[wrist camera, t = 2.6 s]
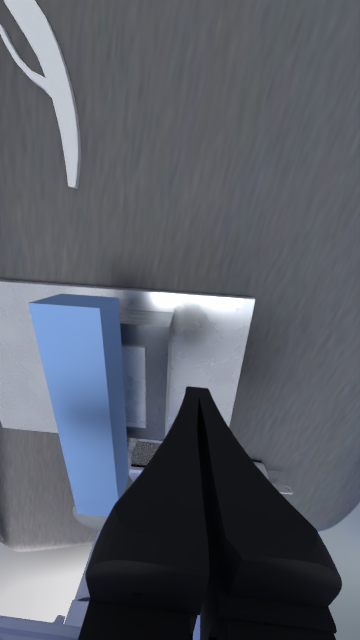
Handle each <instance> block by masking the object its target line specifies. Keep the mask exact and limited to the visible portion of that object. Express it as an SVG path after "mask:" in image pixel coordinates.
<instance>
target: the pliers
mask: <svg viewBox="0 0 360 640" xmlns="http://www.w3.org/2000/svg"><path fill="white" fill-rule="evenodd" d="M4 2H5V4H6V5H7V7H8V8H9V10H10V12H11V13H12V15H13V16H14V18H15V20H16V21H17V23H18V25H19V26H20V28H21V29H22V31H23V33H24V34H25V36H26V38H27V39H28V41H29V43H30V44H31V46H32V48H33V50H34V51H35V53H36V55H37V57H38V59H39V61H40V64H41V67H42V69H43V72H44V74H45V77H46V78H45V77H43V76H41V75H39V74H37V73H35V72H33V71H31V70H30V69H29V68H28V67H27V66H26V65H25V63H24V62H23V61H22V59H21V58H20V56H19V54H18V53H17V51H16V49H15V48H14V46H13V44H12V42H11V40H10V38H9V36H8V34H7V32H6V30H5V29H4V28H3V27H2V26H1V24H0V34H1V36H2V38H3V40H4V42H5V45H6V46H7V48H8V50H9V51H10V53H11V55H12V56H13V58H14V60H15V61H16V63H17V64H18V65H19V66H20V68H21V69H22V70H23V71H24V72H25V73H26V74H27V76H28V77H29V78H30V79H31V80H32V81H33V82H34V83H35V84H36V85H37V86H39V87H40V88H41V89H43V90H44V91H45V92H46V93H48V94H49V95H50V97H51V98H52V100H53V103H54V107H55V111H56V115H57V119H58V123H59V128H60V132H61V137H62V144H63V150H64V156H65V163H66V170H67V179H68V186H69V187H70V188H74V189H78V186H79V177H80V166H81V139H80V128H79V119H78V113H77V107H76V102H75V97H74V93H73V89H72V85H71V81H70V77H69V73H68V70H67V67H66V64H65V61H64V58H63V55H62V51H61V49H60V46H59V44H58V42H57V40H56V37H55V35H54V33H53V30H52V28H51V26H50V24H49V22H48V21H47V19H46V17H45V16H44V14H43V13H42V11H41V9H40V8H39V6H38V5H37V3H36V1H35V0H4Z"/></svg>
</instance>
